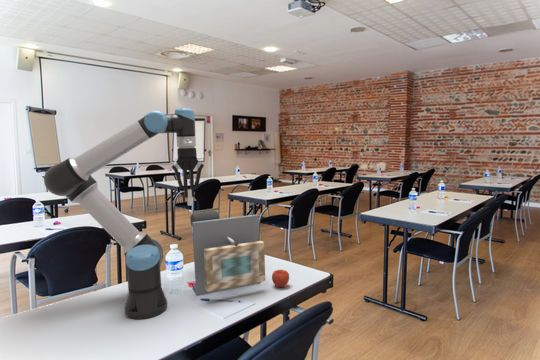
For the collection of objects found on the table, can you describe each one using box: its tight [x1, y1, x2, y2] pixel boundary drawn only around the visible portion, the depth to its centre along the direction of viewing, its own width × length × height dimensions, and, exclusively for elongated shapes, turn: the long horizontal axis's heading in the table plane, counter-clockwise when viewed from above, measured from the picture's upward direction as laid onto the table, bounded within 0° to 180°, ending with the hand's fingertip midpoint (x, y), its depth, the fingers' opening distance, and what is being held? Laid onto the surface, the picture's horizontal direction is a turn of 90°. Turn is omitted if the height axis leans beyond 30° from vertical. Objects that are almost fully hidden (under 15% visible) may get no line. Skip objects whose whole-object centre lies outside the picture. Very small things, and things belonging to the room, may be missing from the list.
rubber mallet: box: [189, 210, 220, 227], centre depth 171 cm, size 12×8×30 cm, turn 120°
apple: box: [271, 269, 290, 288], centre depth 155 cm, size 7×7×8 cm
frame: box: [204, 240, 266, 292], centre depth 144 cm, size 24×4×18 cm, turn 114°
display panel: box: [191, 214, 261, 296], centre depth 153 cm, size 28×15×30 cm, turn 114°
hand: (189, 205), depth 150 cm, fingers closed
